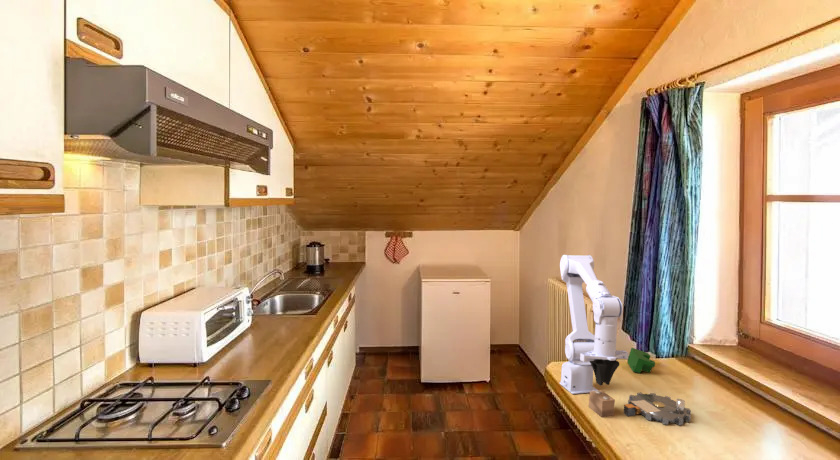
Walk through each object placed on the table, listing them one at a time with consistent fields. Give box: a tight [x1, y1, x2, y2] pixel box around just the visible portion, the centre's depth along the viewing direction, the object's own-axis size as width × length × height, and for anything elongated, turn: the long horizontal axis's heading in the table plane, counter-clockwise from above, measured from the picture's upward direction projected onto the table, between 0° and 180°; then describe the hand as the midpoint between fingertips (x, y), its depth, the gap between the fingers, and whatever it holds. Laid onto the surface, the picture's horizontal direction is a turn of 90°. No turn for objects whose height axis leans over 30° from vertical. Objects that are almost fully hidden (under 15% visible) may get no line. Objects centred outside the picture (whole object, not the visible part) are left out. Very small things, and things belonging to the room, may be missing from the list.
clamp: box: [626, 347, 656, 374], centre depth 157 cm, size 12×6×9 cm
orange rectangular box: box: [623, 403, 636, 417], centre depth 123 cm, size 2×2×3 cm
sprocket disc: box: [627, 391, 692, 426], centre depth 125 cm, size 16×16×5 cm
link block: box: [588, 390, 616, 418], centre depth 125 cm, size 6×4×5 cm, turn 13°
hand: (602, 383), depth 124 cm, fingers closed
